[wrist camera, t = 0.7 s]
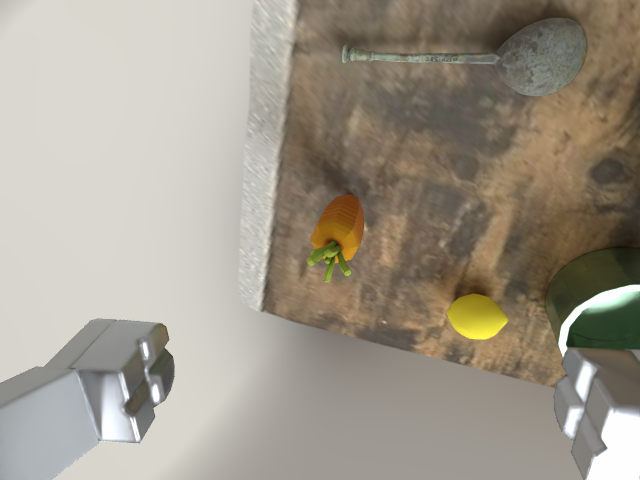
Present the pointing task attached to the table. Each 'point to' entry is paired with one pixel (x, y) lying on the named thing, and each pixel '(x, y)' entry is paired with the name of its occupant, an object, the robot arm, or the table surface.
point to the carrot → (338, 234)
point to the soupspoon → (516, 56)
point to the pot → (597, 301)
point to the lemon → (476, 316)
